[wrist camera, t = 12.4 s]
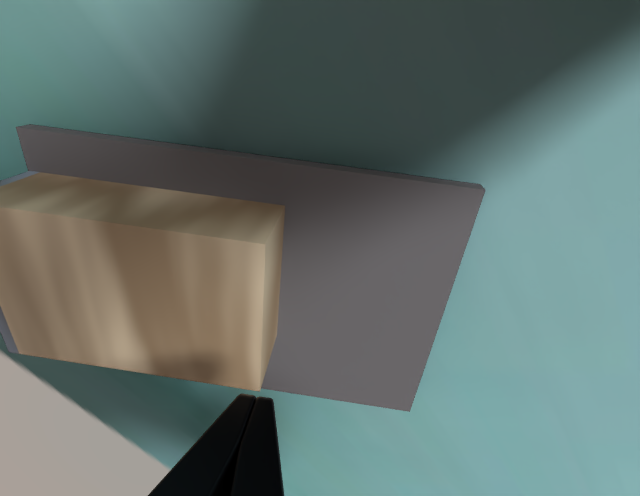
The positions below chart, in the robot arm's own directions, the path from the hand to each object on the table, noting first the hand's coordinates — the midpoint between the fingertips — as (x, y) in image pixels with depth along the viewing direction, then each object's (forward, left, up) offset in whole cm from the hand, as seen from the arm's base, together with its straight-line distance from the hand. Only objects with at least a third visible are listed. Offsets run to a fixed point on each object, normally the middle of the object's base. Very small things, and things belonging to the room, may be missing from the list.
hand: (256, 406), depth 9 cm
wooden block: (+1, 0, -4) cm, 4 cm away
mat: (+2, +1, -6) cm, 7 cm away
